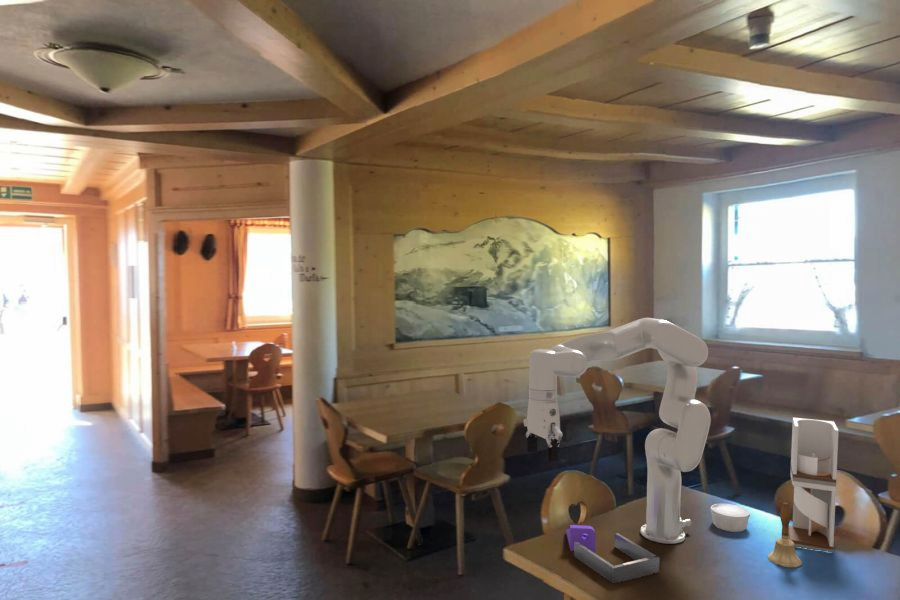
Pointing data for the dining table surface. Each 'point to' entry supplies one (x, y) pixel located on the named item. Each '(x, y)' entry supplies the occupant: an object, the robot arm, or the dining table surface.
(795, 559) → the hand bell
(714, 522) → the ramekin
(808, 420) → the display case
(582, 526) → the bracket
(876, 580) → the dining table surface
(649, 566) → the tray
